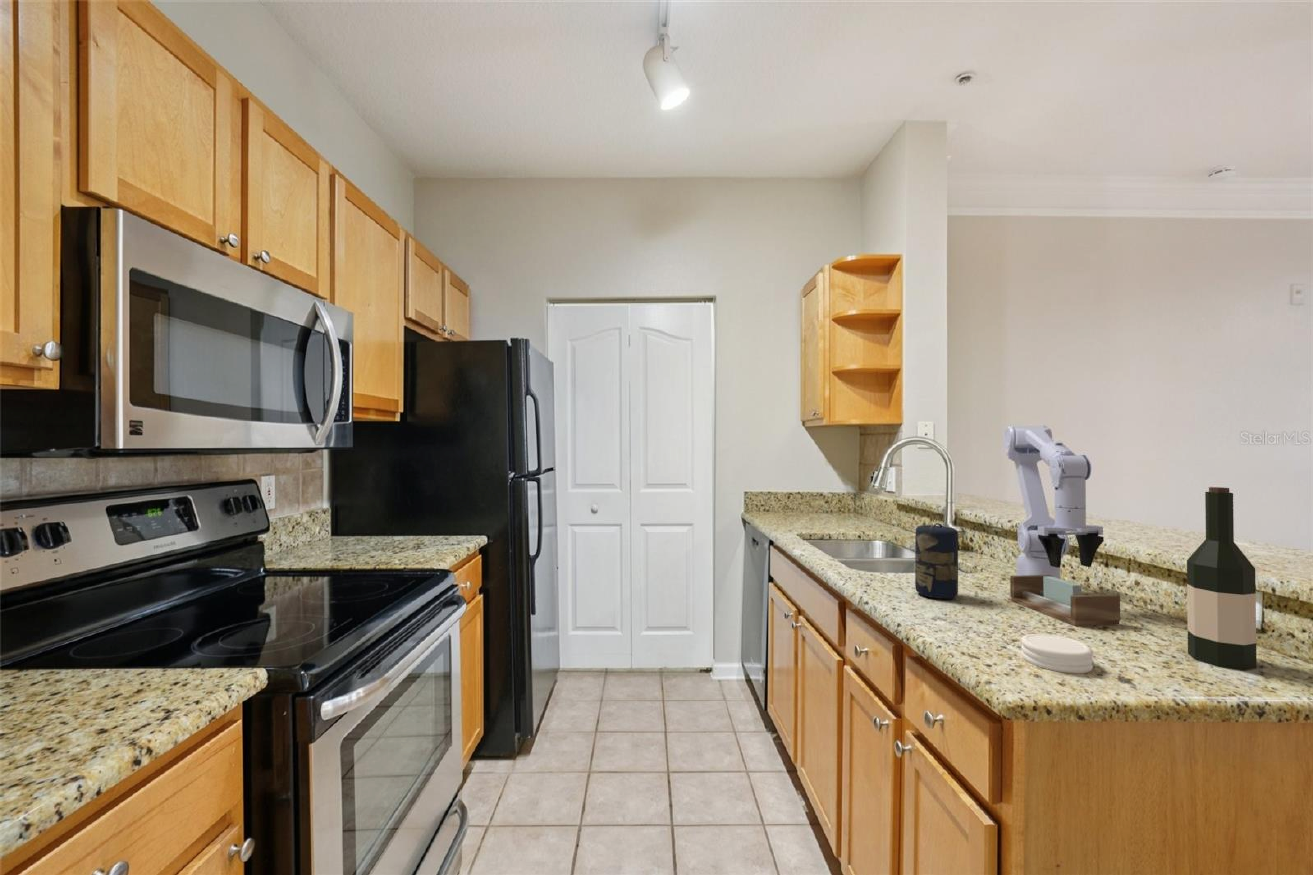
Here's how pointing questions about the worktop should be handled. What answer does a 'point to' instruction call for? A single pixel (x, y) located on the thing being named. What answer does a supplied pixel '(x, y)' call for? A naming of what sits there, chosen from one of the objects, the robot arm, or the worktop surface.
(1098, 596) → the track base
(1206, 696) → the worktop surface
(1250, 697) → the worktop surface
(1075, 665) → the coaster
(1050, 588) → the door panel
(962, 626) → the worktop surface
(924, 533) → the canister
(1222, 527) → the wine bottle
